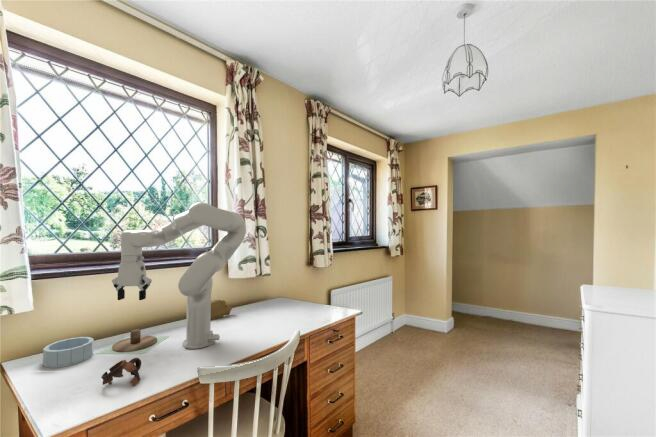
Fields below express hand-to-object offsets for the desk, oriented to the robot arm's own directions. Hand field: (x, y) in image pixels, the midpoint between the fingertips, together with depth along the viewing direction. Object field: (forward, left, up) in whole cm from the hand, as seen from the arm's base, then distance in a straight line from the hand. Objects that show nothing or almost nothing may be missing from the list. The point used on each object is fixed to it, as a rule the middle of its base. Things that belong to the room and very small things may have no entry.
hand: (131, 299), depth 128 cm
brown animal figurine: (-18, +30, -20) cm, 41 cm away
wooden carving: (-22, -38, -20) cm, 48 cm away
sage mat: (-2, 0, -19) cm, 19 cm away
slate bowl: (+14, +14, -19) cm, 28 cm away
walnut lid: (-2, 0, -19) cm, 19 cm away
